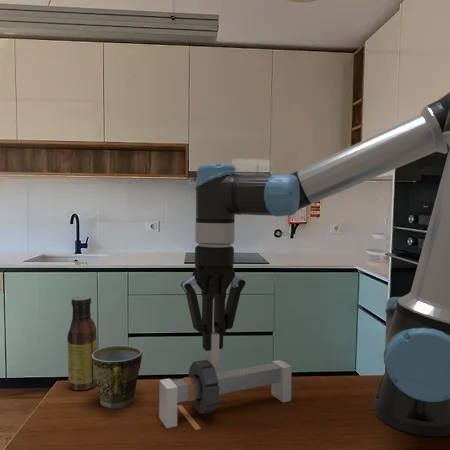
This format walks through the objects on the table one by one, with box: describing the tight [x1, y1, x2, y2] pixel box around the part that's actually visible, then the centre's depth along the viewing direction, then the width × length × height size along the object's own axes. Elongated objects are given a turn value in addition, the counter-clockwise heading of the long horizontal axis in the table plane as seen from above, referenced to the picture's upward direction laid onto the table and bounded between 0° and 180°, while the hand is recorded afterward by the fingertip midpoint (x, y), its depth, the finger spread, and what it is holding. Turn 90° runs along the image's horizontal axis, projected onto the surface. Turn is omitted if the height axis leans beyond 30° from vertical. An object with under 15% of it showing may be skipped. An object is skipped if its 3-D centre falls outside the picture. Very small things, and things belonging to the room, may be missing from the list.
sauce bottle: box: [66, 295, 98, 391], centre depth 94 cm, size 7×6×20 cm
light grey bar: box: [171, 362, 282, 404], centre depth 85 cm, size 25×3×3 cm, turn 116°
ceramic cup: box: [92, 344, 143, 410], centre depth 86 cm, size 13×10×10 cm
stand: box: [158, 359, 293, 431], centre depth 85 cm, size 27×10×7 cm, turn 116°
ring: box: [188, 359, 220, 415], centre depth 82 cm, size 2×9×9 cm, turn 26°
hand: (212, 365), depth 83 cm, fingers closed
